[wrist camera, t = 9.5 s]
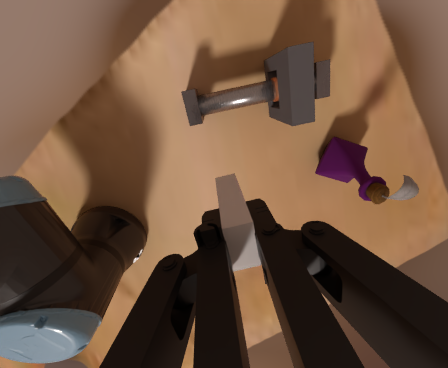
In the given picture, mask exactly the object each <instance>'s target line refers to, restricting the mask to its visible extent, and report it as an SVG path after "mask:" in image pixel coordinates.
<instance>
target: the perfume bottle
mask: <svg viewBox="0 0 448 368" xmlns="http://www.w3.org/2000/svg"><path fill="white" fill-rule="evenodd" d="M367 150H368V148H367V147H364V146H361V145H358V144H355V143H352V142H349V141H346V140H343V139H340V138H337V137H333V138H332V139H331V141H330V142H329V144H328V145H327V147H326V149H325V151H324V153H323V155H322V157H321V159H320V161H319V164H318V167H317V169H316V172H315V173H316V174H318V175H322V176H325V177H329V178H332V179H335V180H339V181H342V182H346V183H348V182H349V181H351V180H352V179H353V178H355V179H356V180H357V181H358V182H359V184H360V187H359V190H358V191H359V196H360V197H361V198H362V199H363V200H366V201H372V202H373V203H374V204H380V203H382V202H384V201H385V200H386V199H387V198H388V199H394V200H407V199H411V198H413V197H415V196H416V195H417V194H418V191H419V188H418V186H417V184H416V183H415V182H414V181H413V179H412V178H410V177H409V176H406V175H403V176H404V183H403V185H402V187H401V188H400V189H399V190H398V191H397V192H396V193H395V194H394V195H392V196H390V197H388V196H389V188H388V187H387V186H386V182H385V181H384V180H383V179H382V178H381V177H376V176H373V177H371V176H370V175H369V174H368V172H367V171H366V168H365V165H364V160H365V156H366V153H367Z"/></svg>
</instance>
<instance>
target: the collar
mask: <svg viewBox="0 0 448 368" xmlns="http://www.w3.org/2000/svg"><path fill="white" fill-rule="evenodd" d="M264 67H265V77H266V81H268V80H271V78H273V77H277V82H278V94H279V101H276V102H273V101H268V106H269V115H270V117H271V118H274V119H276V120H279V121H281V122H283V123H286V124H288V125H291V126H296V125H301V124H305V123H310V122H315V95H314V45H313V42H309V43H305V44H300V45H295V46H291V47H287V48H285V49H284V50H282V51H280V52H279V53H277V54H275V55H273V56H272V57H270V58H268V59H267V60H265V61H264Z"/></svg>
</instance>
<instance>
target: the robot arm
mask: <svg viewBox="0 0 448 368" xmlns="http://www.w3.org/2000/svg"><path fill="white" fill-rule="evenodd" d="M215 179H216V187H217V195H218V203H219V209H214V210H210V211H206V212H205V213H204V214H203V216H202V224H201V225H200V226H198V227H197V228H196V229H195V231H194V233H193V234H194V237H195V240H196V243H197V245H198V250H197V251H195V252H194V253H193V254H191V255H189V256H187V257H185V258H183V257H182V256H181V255H179V254H172V255H168V256H166V257H164V258H163V259H162V260H160V261H159V262H158V264H157V265H156V267H155V269H154V270H153V272H152V274H151V276H150V277H149V279H148V281H147V283H146V285H145V286H144V288H143V290H142V292H141V294H140V295H139V297H138V299H137V301H136V303H135V304H134V306H133V308H132V310H131V312H130V313H129V315H128V317H127V319H126V321H125V322H124V324H123V326H122V328H121V329H120V331H119V333H118V335H117V337H116V338H115V340H114V342H113V344H112V346H111V347H110V349H109V351H108V353H107V355H106V356H105V358H104V360H103V362H102V364H101V365H100V367H99V368H181V366H182V362H183V359H184V355H185V351H186V348H187V344H188V340H189V337H190V333H191V329H192V326H193V322H194V318H195V338H194V364H193V368H250V364H249V358H248V353H247V346H246V340H245V335H244V329H243V323H242V317H241V311H240V305H239V299H238V293H237V287H236V281H235V277H234V273H233V271H238V270H242V269H246V268H251V267H255V266H259V265H261V264H262V268H263V273H264V279H265V284H267V286H268V289H269V292H270V295H271V298H272V301H273V304H274V307H275V310H276V313H277V316H278V319H279V322H280V326H281V329H282V332H283V335H284V338H285V341H286V344H287V347H288V350H289V353H290V356H291V359H292V362H293V366H294V368H364V366H363V364H362V362H361V361H360V359H359V357H358V356H357V354H356V352H355V350H354V349H353V347H352V345H351V344H350V342H349V340H348V338H347V337H346V335H345V333H344V332H343V330H342V328H341V327H340V325H339V323H338V321H337V320H336V318H335V317H334V314H333V313H332V311H331V309H330V308H329V306H328V304H327V302H326V301H325V299H324V297H323V295H324V296H325V297H326V298H327V299H328V301H329V302H330V303H331V304H332V305H333V306H334V307H335V308H336V309H337V310H338V311H339V312H340V314H341V315H342V316H343V317H344V318H345V319H346V320H347V321H348V322H349V323H350V324H351V326H352V327H353V328H354V329H355V330H356V331H357V332H358V333H359V334H360V335H361V336H362V337H363V339H364V340H365V341H366V342H367V343H368V344H369V345H370V346H371V347H372V348H373V349H374V350H375V352H376V353H377V354H378V355H379V356H380V357H381V358H382V359H383V360H384V361H385V363H386V364H387V365H388V366H389V367H390V368H448V302H446V301H445V300H443V299H442V298H440V297H439V296H437V295H436V294H434V293H433V292H431V291H429V290H428V289H426V288H425V287H423V286H422V285H420V284H419V283H417V282H416V281H414V280H413V279H411V278H410V277H408V276H407V275H405V274H404V273H402V272H401V271H399V270H398V269H396V268H395V267H393V266H392V265H390V264H388V263H387V262H385V261H384V260H382V259H381V258H379V257H378V256H376V255H375V254H373V253H372V252H370V251H369V250H367V249H366V248H364V247H363V246H361V245H360V244H358V243H357V242H355V241H353V240H352V239H350V238H349V237H347V236H346V235H344V234H343V233H341V232H340V231H338V230H337V229H335V228H334V227H332V226H331V225H329V224H327V223H325V222H321V221H310V222H307V223H305V224H303V226H302V227H301V230H287V229H283V227H282V226H281V225H280V224H278V223H276V221H275V219H274V218H273V216H272V214H271V212H270V210H269V209H268V207H267V205H266V203H265V201H263V200H261V199H255V200H250V201H246V202H245V199H244V197H243V194H242V191H241V189H240V186H239V184H238V181H237V178H236V176H235V174H231V175H226V176H222V177H218V178H215ZM46 200H47V199H46V198H45V197H43V196H42V195H41V194H40V193H39V192H38V191H37V190H36V189H35V188H34V187H33V185H32V184H31V183H30V182H29V181H28V180H26V179H25V178H22V177H19V176H5V177H0V356H1V357H4V358H6V359H10V360H14V361H19V362H25V363H51V362H58V361H62V360H65V359H68V358H71V357H73V356H75V355H77V354H78V353H80V352H81V351H82V350H83V349H84V348H85V347H86V346H87V345H88V344H89V342H90V341H91V339H92V337H93V335H94V333H95V331H96V330H97V328H98V327H99V326H100V324H101V322H102V319H103V317H104V315H105V312H106V310H107V308H108V306H109V304H110V302H111V299H112V297H113V295H114V293H115V291H116V288H117V286H118V284H119V282H120V280H121V277H122V275H123V273H124V272H125V271H126V270H127V269H128V268H129V267H130V266H131V265H132V264H133V263H134V262H135V261H136V260H137V259H138V258H139V257H140V255H141V254H142V252H143V250H144V247H145V245H146V232H145V229H144V227H143V225H142V224H141V222H140V221H139V220H138V219H137V218H136V217H135V216H133V215H132V214H130V213H129V212H127V211H125V210H122V209H119V208H115V207H108V206H103V207H96V208H93V209H90V210H88V211H87V212H85V213H84V214H83V215H82V216H81V217H80V218H78V219H77V221H76V222H75V223H74V225H73V226H72V229H71V231H70V230H69V229H68V228H67V226H66V225H65V224H64V223H63V222H62V220H61V219H60V218H59V216H58V215H57V214H56V213H55V211H54V210H53V209H52V207H51V206H50V205H49V203H48V202H47V201H46ZM321 293H322V294H323V295H322V294H321Z"/></svg>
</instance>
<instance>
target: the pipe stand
mask: <svg viewBox="0 0 448 368" xmlns="http://www.w3.org/2000/svg"><path fill="white" fill-rule="evenodd" d="M181 93H182V96H183V100H184V104H185V108H186V112H187V116H188V120H189V124H190V126H193V125H197V124H202V123H203V120H204V117H203V115H208V114H212V113H217V112H222V111H226V110H231V109H236V108H240V107H245V106H250V105H254V104H259V103H264V102H268V101H273V102H276V101H279V94H278V82H277V77H273V78H271V80H268V81H263V82H259V83H254V84H250V85H245V86H240V87H236V88H231V89H226V90H222V91H217V92H213V93H208V94H203V95H199V96H198V91H197V89H191V90H187V91H182V92H181ZM314 95H315V99H319V98H324V97H329V96H330V59H329V60H325V61H320V62H316V63H314Z"/></svg>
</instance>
